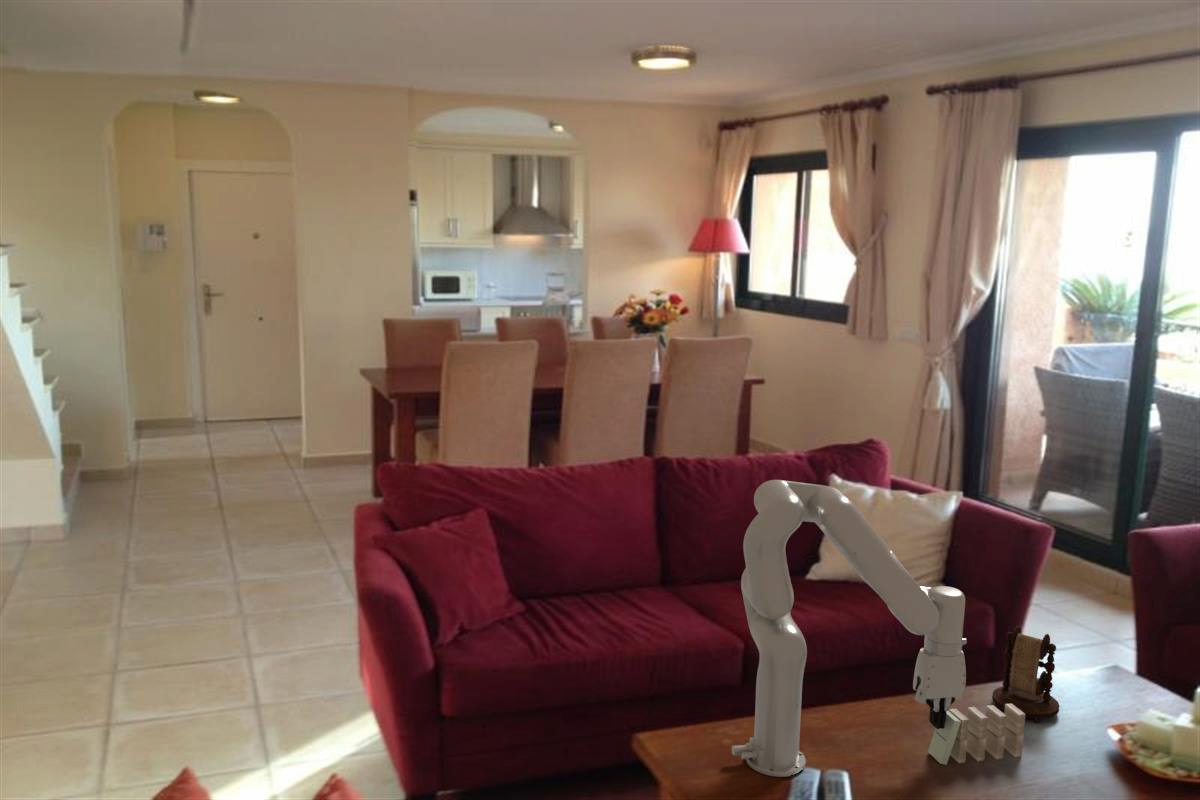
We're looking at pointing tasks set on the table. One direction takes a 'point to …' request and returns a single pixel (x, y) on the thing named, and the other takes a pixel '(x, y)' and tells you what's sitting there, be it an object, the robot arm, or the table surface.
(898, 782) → the table surface
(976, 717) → the domino
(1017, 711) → the domino
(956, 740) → the domino
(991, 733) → the domino
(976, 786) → the table surface
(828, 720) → the table surface
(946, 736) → the domino
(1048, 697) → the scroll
